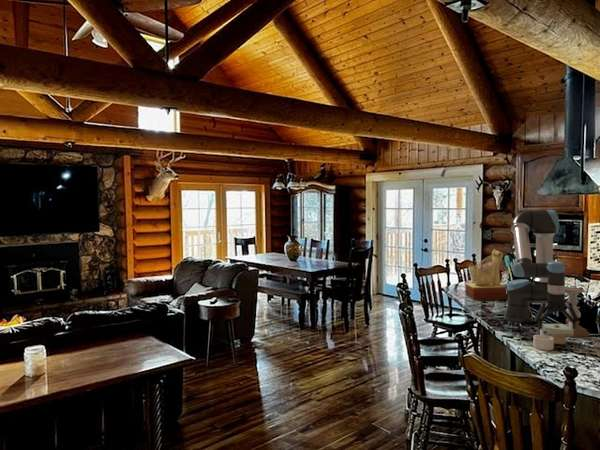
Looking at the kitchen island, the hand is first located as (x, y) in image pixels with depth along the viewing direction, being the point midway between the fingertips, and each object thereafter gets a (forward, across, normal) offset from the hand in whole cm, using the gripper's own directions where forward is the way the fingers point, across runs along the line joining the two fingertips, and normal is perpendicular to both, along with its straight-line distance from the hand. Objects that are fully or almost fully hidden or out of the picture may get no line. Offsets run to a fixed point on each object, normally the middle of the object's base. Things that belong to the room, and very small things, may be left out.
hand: (556, 335), depth 221 cm
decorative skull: (+4, +14, +145) cm, 145 cm away
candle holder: (+3, +14, +13) cm, 19 cm away
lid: (-2, 0, 0) cm, 2 cm away
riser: (+3, 0, 0) cm, 3 cm away
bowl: (+3, -10, -9) cm, 14 cm away
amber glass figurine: (+4, -1, +105) cm, 105 cm away
